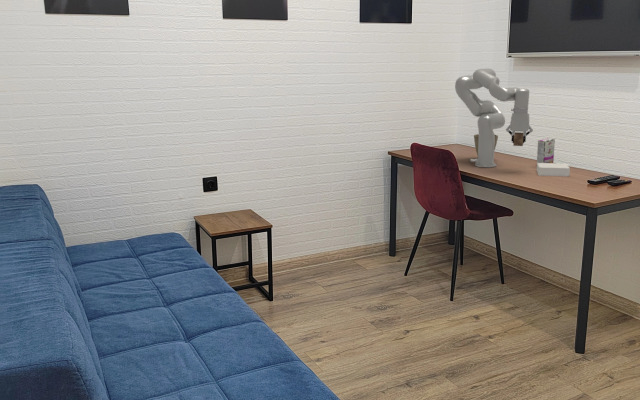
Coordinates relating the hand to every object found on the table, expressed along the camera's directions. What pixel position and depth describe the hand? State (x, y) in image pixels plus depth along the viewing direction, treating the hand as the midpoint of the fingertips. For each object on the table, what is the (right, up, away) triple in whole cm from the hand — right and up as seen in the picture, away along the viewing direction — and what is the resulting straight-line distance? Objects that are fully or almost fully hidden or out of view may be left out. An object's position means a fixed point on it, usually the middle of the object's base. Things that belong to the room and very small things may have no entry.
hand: (518, 142), depth 334 cm
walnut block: (0, -1, 0) cm, 2 cm away
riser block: (+18, -18, -3) cm, 26 cm away
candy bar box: (+22, -13, +17) cm, 30 cm away
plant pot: (-7, -7, +43) cm, 44 cm away
